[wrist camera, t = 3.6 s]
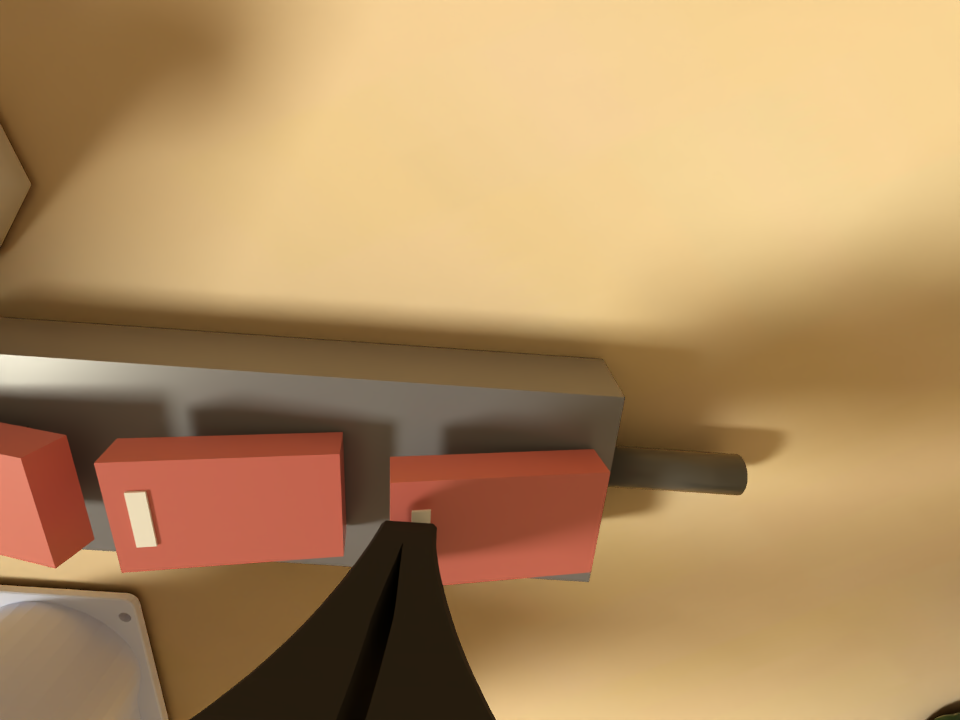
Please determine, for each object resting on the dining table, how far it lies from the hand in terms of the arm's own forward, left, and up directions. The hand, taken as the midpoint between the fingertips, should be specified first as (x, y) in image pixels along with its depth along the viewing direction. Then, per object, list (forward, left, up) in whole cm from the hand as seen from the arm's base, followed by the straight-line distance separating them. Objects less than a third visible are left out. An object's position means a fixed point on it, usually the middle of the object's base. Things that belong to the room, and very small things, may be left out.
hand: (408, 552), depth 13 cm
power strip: (0, +3, -6) cm, 7 cm away
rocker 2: (0, +5, -2) cm, 5 cm away
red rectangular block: (0, -2, -2) cm, 3 cm away
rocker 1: (0, +13, -2) cm, 13 cm away
